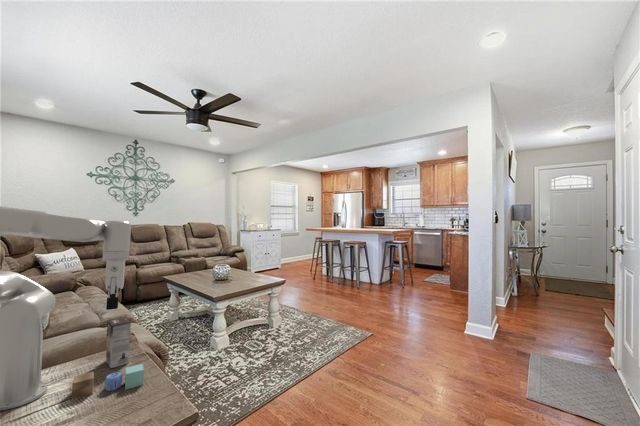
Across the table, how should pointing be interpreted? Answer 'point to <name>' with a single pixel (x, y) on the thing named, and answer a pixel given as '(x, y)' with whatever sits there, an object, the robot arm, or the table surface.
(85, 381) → the walnut block
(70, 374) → the table surface
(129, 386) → the teal block
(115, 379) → the decorative dice
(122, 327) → the coffee box
